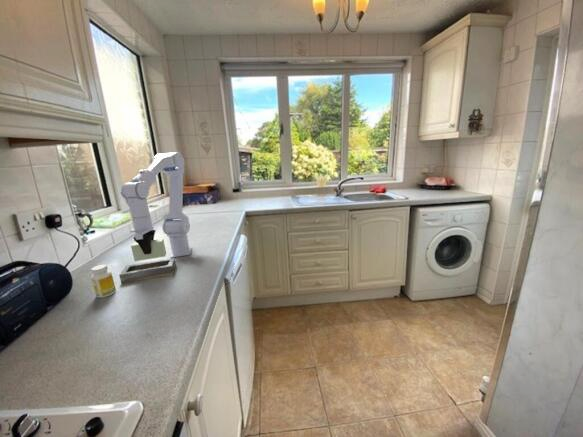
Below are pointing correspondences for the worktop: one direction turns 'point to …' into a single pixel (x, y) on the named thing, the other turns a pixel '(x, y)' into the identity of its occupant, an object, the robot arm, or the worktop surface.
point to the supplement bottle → (102, 281)
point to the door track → (148, 270)
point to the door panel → (156, 250)
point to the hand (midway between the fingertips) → (149, 251)
